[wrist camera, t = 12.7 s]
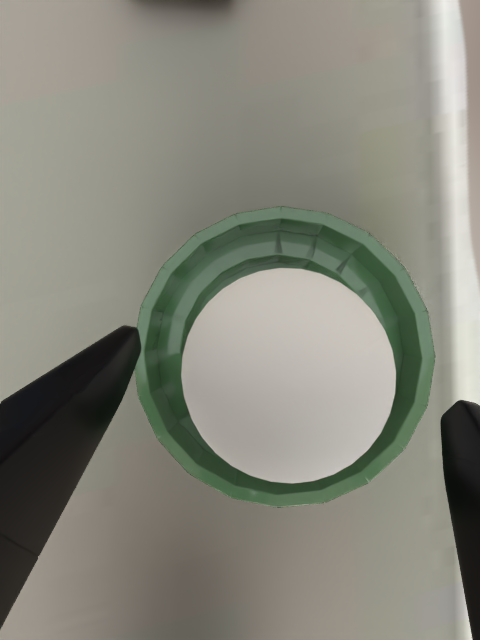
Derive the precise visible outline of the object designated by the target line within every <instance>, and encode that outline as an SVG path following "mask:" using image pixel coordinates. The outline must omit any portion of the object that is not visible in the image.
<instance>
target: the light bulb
mask: <svg viewBox="0 0 480 640" xmlns="http://www.w3.org/2000/svg"><path fill="white" fill-rule="evenodd" d="M181 378H182V386H183V393H184V398H185V401H186V404H187V407H188V410H189V413H190V416H191V419H192V421H193V423H194V424H195V426H196V428H197V430H198V431H199V433H200V435H201V437H202V438H203V439H204V440H205V441H206V443H207V444H208V445H209V446H210V447H211V448H212V450H213V451H214V452H215V453H216V454H217V455H218V456H220V457H221V458H222V459H224V460H225V461H226V462H227V463H229V464H230V465H231V466H233V467H235V468H237V469H238V470H240V471H242V472H244V473H246V474H248V475H250V476H253V477H257V478H260V479H263V480H267V481H270V482H280V483H301V482H310V481H315V480H318V479H321V478H324V477H327V476H331V475H334V474H335V473H337V472H339V471H341V470H342V469H344V468H346V467H348V466H349V465H351V464H353V463H354V462H355V461H356V460H357V459H358V458H360V457H361V456H362V455H363V454H364V453H365V452H366V451H368V449H369V448H370V447H371V446H372V444H373V443H374V442H375V440H376V439H377V438H378V436H379V435H380V434H381V432H382V430H383V428H384V426H385V423H386V421H387V419H388V417H389V415H390V412H391V408H392V404H393V400H394V396H395V385H396V368H395V362H394V356H393V350H392V348H391V345H390V342H389V340H388V337H387V335H386V332H385V330H384V328H383V327H382V325H381V323H380V322H379V320H378V319H377V317H376V315H375V314H374V312H373V311H372V310H371V309H370V308H369V307H368V306H367V305H366V304H365V302H364V301H363V300H362V299H361V298H360V297H359V296H358V295H357V294H356V293H354V292H353V291H351V290H350V289H349V288H347V287H346V286H344V285H343V284H342V283H340V282H338V281H336V280H334V279H332V278H329V277H327V276H325V275H323V274H321V273H316V272H312V271H308V270H304V269H294V268H276V269H270V270H264V271H258V272H256V273H253V274H250V275H248V276H245V277H242V278H240V279H238V280H236V281H235V282H233V283H231V284H230V285H228V286H227V287H225V288H223V289H222V290H221V291H220V292H219V293H218V294H217V295H215V296H214V297H213V298H212V299H211V300H210V301H209V302H208V303H207V304H206V306H205V307H204V308H203V310H202V311H201V312H200V314H199V315H198V316H197V318H196V320H195V322H194V324H193V326H192V328H191V330H190V332H189V334H188V336H187V340H186V344H185V348H184V352H183V356H182V372H181Z"/></svg>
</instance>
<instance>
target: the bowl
mask: <svg viewBox="0 0 480 640" xmlns="http://www.w3.org/2000/svg"><path fill="white" fill-rule="evenodd" d="M276 268H294V269H304V270H308V271H312V272H316V273H321V274H323V275H325V276H327V277H329V278H332V279H334V280H336V281H338V282H340V283H342V284H343V285H344V286H346V287H347V288H349V289H350V290H351V291H353V292H354V293H356V294H357V295H358V296H359V297H360V298H361V299H362V300H363V301H364V302H365V304H366V305H367V306H368V307H369V308H370V309H371V310H372V311H373V312H374V314H375V315H376V317H377V319H378V320H379V322H380V323H381V325H382V327H383V328H384V330H385V332H386V335H387V337H388V340H389V342H390V345H391V348H392V350H393V356H394V362H395V368H396V385H395V396H394V400H393V404H392V408H391V412H390V415H389V417H388V419H387V421H386V423H385V426H384V428H383V430H382V432H381V434H380V435H379V436H378V438H377V439H376V440H375V442H374V443H373V444H372V446H371V447H370V448H369V449H368V451H366V452H365V453H364V454H363V455H362V456H361V457H360V458H358V459H357V460H356V461H355V462H354V463H353V464H351V465H349V466H348V467H346V468H344V469H342V470H341V471H339V472H337V473H335V474H334V475H331V476H327V477H324V478H321V479H318V480H315V481H310V482H301V483H280V482H270V481H267V480H263V479H260V478H257V477H253V476H250V475H248V474H246V473H244V472H242V471H240V470H238V469H237V468H235V467H233V466H231V465H230V464H229V463H227V462H226V461H225V460H224V459H222V458H221V457H220V456H218V455H217V454H216V453H215V452H214V451H213V450H212V448H211V447H210V446H209V445H208V444H207V443H206V441H205V440H204V439H203V438H202V437H201V435H200V433H199V431H198V430H197V428H196V426H195V424H194V423H193V421H192V419H191V416H190V413H189V410H188V407H187V404H186V401H185V398H184V393H183V386H182V378H181V372H182V356H183V352H184V348H185V344H186V340H187V336H188V334H189V332H190V330H191V328H192V326H193V324H194V322H195V320H196V318H197V316H198V315H199V314H200V312H201V311H202V310H203V308H204V307H205V306H206V304H207V303H208V302H209V301H210V300H211V299H212V298H213V297H214V296H215V295H217V294H218V293H219V292H220V291H221V290H222V289H223V288H225V287H227V286H228V285H230V284H231V283H233V282H235V281H236V280H238V279H240V278H242V277H245V276H248V275H250V274H253V273H256V272H258V271H264V270H270V269H276ZM137 329H138V330H139V335H140V341H141V353H140V356H139V359H138V361H137V364H136V366H135V376H136V384H137V392H138V396H139V400H140V402H141V404H142V406H143V409H144V411H145V413H146V415H147V417H148V420H149V422H150V424H151V426H152V428H153V431H154V433H155V435H156V437H157V438H158V440H159V441H160V443H161V444H162V445H163V446H164V447H165V448H166V449H167V450H168V451H169V453H170V454H171V455H172V456H173V457H174V458H175V459H176V460H177V461H178V462H179V464H180V465H181V466H182V467H183V468H184V469H185V470H186V471H187V472H188V473H190V475H192V476H194V477H195V478H197V479H199V480H200V481H202V482H204V483H206V484H207V485H209V486H211V487H213V488H214V489H216V490H218V491H219V492H221V493H223V494H225V495H226V496H228V497H231V498H234V499H239V500H243V501H248V502H252V503H257V504H262V505H266V506H271V507H277V508H281V507H291V506H300V505H310V504H320V503H324V502H328V501H330V500H332V499H335V498H337V497H339V496H341V495H343V494H346V493H348V492H350V491H352V490H355V489H357V488H359V487H361V486H363V485H366V484H368V482H370V481H371V480H372V479H374V478H375V477H376V476H377V475H378V474H379V473H380V472H381V471H382V470H383V469H384V468H385V467H386V466H387V465H388V464H390V463H391V462H392V461H393V460H394V459H395V458H396V457H397V456H398V455H399V454H400V453H401V452H402V451H403V450H404V449H405V448H406V446H407V444H408V442H409V440H410V438H411V436H412V435H413V433H414V431H415V429H416V427H417V425H418V423H419V421H420V420H421V418H422V416H423V414H424V412H425V410H426V408H427V405H428V400H429V394H430V388H431V382H432V376H433V369H434V363H435V359H434V358H435V352H434V346H433V340H432V334H431V328H430V322H429V316H428V311H427V308H426V306H425V305H424V303H423V301H422V299H421V297H420V295H419V293H418V291H417V289H416V287H415V286H414V284H413V282H412V280H411V278H410V276H409V274H408V272H407V270H406V269H405V268H404V266H403V265H402V264H401V263H400V262H399V261H398V260H397V259H396V258H395V257H394V256H393V255H392V254H391V253H389V252H388V251H387V250H386V249H385V248H384V247H383V246H382V245H381V244H380V243H379V242H378V241H377V240H376V239H375V238H374V237H373V236H372V235H370V233H368V232H366V231H364V230H362V229H360V228H358V227H356V226H353V225H351V224H349V223H347V222H345V221H343V220H341V219H339V218H337V217H335V216H333V215H331V214H329V213H324V212H318V211H311V210H304V209H297V208H290V207H284V206H282V207H280V206H279V207H273V208H266V209H260V210H254V211H248V212H242V213H237V214H236V215H235V214H234V215H232V216H230V217H228V218H226V219H224V220H222V221H220V222H218V223H216V224H214V225H212V226H210V227H208V228H206V229H204V230H202V231H200V232H198V233H196V234H195V235H193V236H192V237H191V238H190V239H189V240H188V241H187V242H186V243H185V244H184V245H183V246H182V247H181V248H180V249H179V250H178V251H177V252H176V253H175V254H174V255H173V256H172V257H171V258H170V259H169V260H168V261H167V262H166V263H165V264H164V265H163V267H161V269H160V271H159V273H158V275H157V276H156V278H155V280H154V282H153V284H152V286H151V288H150V290H149V292H148V293H147V295H146V297H145V299H144V301H143V303H142V305H141V308H140V313H139V318H138V324H137Z"/></svg>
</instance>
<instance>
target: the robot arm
mask: <svg viewBox="0 0 480 640" xmlns="http://www.w3.org/2000/svg"><path fill="white" fill-rule="evenodd" d="M140 353H141V341H140V335H139V330H138V329H137V328H135V327H131V326H126V325H124V326H121V327H119V328H118V329H116V330H115V331H113V332H111V333H110V334H108V335H107V336H105V337H103V338H102V339H100V340H99V341H97V342H95V343H94V344H92V345H91V346H89V347H87V348H86V349H84V350H83V351H81V352H79V353H78V354H76V355H75V356H73V357H71V358H70V359H68V360H67V361H65V362H63V363H62V364H60V365H59V366H57V367H55V368H54V369H52V370H51V371H49V372H47V373H46V374H44V375H43V376H41V377H39V378H38V379H36V380H35V381H33V382H31V383H30V384H28V385H27V386H25V387H23V388H22V389H20V390H19V391H17V392H15V393H14V394H12V395H11V396H9V397H7V398H6V399H4V400H3V401H2V402H1V404H0V629H1V627H2V625H3V623H4V621H5V619H6V618H7V616H8V614H9V612H10V610H11V608H12V606H13V604H14V603H15V601H16V599H17V597H18V595H19V593H20V591H21V589H22V587H23V586H24V584H25V582H26V580H27V578H28V576H29V574H30V572H31V571H32V569H33V567H34V565H35V563H36V561H37V559H38V556H39V555H40V553H41V551H42V550H43V548H44V546H45V544H46V542H47V540H48V538H49V536H50V535H51V533H52V531H53V529H54V527H55V525H56V523H57V521H58V520H59V518H60V516H61V514H62V512H63V510H64V508H65V506H66V505H67V503H68V501H69V499H70V497H71V495H72V493H73V491H74V490H75V488H76V486H77V484H78V482H79V480H80V478H81V476H82V475H83V473H84V471H85V469H86V467H87V465H88V463H89V461H90V459H91V458H92V456H93V454H94V452H95V450H96V448H97V446H98V444H99V443H100V441H101V439H102V437H103V435H104V433H105V431H106V429H107V428H108V426H109V424H110V422H111V420H112V418H113V416H114V414H115V413H116V411H117V409H118V407H119V405H120V403H121V401H122V399H123V396H124V394H125V392H126V389H127V387H128V384H129V381H130V379H131V376H132V374H133V371H134V369H135V366H136V364H137V361H138V359H139V356H140ZM441 440H442V456H443V470H444V479H445V486H446V492H447V497H448V503H449V509H450V514H451V520H452V526H453V531H454V537H455V543H456V548H457V554H458V560H459V565H460V571H461V577H462V582H463V588H464V593H465V599H466V605H467V610H468V616H469V622H470V627H471V633H472V639H473V640H480V406H479V405H478V404H476V403H473V402H468V401H464V400H460V401H457V402H456V403H455V404H454V405H453V406H452V407H451V408H450V409H448V410H447V411H446V412H445V413H444V414H443V416H442V418H441Z"/></svg>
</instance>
